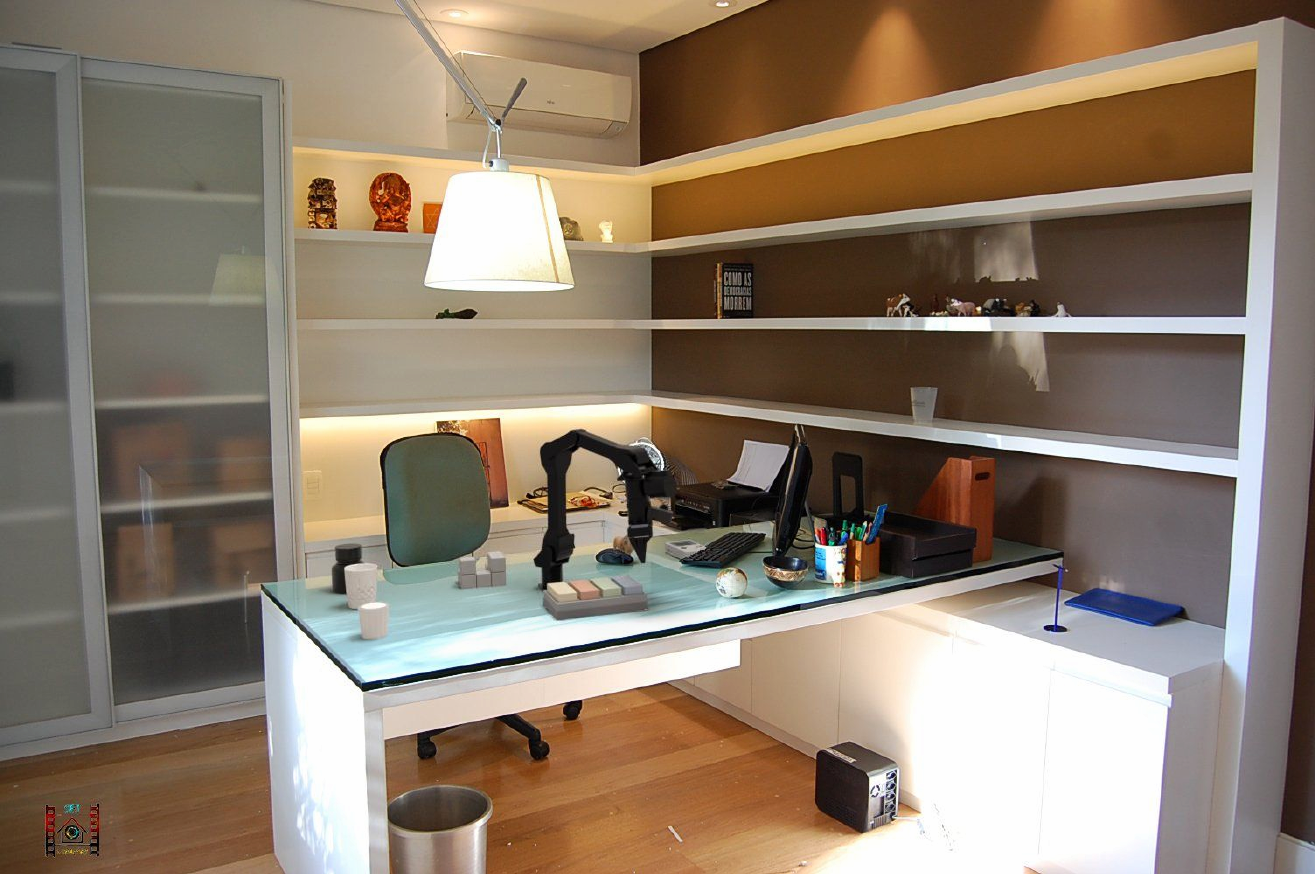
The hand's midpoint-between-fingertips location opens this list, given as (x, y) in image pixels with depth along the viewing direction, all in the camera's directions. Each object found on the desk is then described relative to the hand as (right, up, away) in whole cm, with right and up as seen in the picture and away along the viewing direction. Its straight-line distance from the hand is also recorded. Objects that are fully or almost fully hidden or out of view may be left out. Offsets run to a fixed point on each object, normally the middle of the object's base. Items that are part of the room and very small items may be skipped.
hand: (643, 559), depth 240 cm
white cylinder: (-61, -15, -22) cm, 66 cm away
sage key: (-9, -8, -1) cm, 13 cm away
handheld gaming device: (+13, -6, +53) cm, 55 cm away
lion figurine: (-6, -7, +48) cm, 49 cm away
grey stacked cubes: (-45, -10, +24) cm, 52 cm away
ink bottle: (-79, -11, +17) cm, 81 cm away
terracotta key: (-15, -8, -3) cm, 17 cm away
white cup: (-71, -12, +2) cm, 72 cm away
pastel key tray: (-12, -12, -1) cm, 17 cm away
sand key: (-20, -9, -5) cm, 22 cm away
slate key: (-4, -8, +1) cm, 9 cm away
